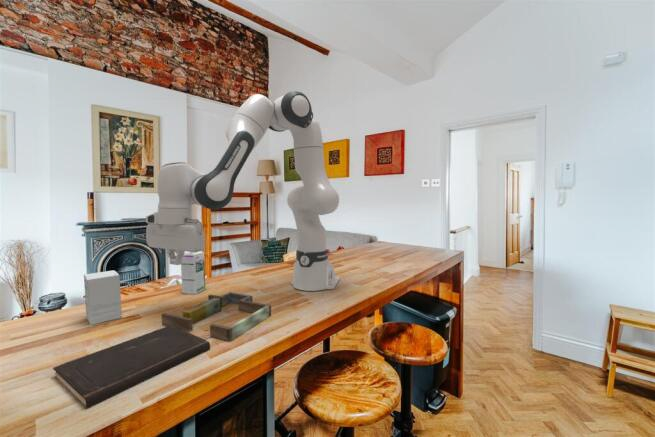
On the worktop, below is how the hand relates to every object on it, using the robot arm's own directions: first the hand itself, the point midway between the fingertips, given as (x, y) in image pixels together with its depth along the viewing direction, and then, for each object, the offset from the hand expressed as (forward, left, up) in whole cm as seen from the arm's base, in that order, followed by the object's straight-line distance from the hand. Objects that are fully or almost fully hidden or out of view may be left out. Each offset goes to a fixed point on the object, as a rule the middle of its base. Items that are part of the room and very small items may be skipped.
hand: (175, 264), depth 88 cm
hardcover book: (+23, +16, -15) cm, 32 cm away
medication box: (0, +10, -15) cm, 18 cm away
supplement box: (+12, -15, -15) cm, 24 cm away
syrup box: (-16, -11, -15) cm, 24 cm away
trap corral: (-3, +16, -14) cm, 21 cm away
